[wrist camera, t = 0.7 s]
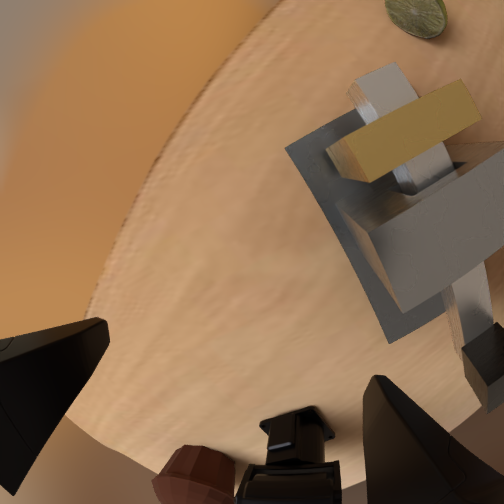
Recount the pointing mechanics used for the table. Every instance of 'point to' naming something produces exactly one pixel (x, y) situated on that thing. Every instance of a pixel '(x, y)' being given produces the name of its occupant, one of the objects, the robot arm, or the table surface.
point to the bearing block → (408, 224)
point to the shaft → (471, 284)
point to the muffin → (196, 477)
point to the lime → (418, 16)
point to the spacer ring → (404, 133)
